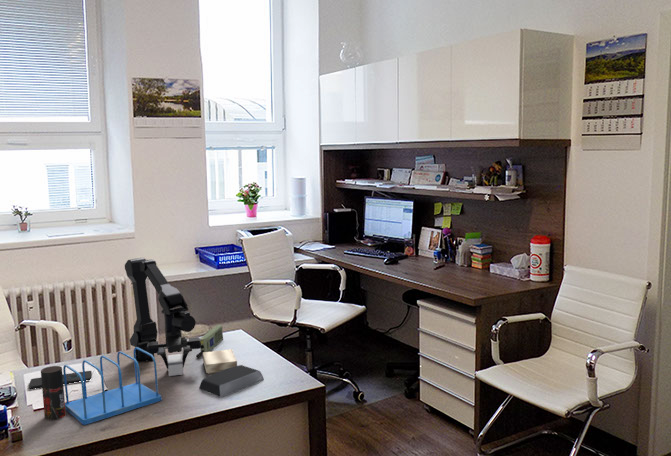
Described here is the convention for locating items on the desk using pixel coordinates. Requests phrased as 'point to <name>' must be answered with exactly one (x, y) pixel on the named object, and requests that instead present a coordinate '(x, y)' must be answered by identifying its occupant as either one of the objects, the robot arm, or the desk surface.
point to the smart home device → (69, 378)
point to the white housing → (175, 364)
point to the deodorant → (53, 393)
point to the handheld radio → (211, 339)
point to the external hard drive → (230, 380)
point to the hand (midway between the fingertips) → (175, 368)
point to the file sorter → (111, 394)
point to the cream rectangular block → (219, 360)
